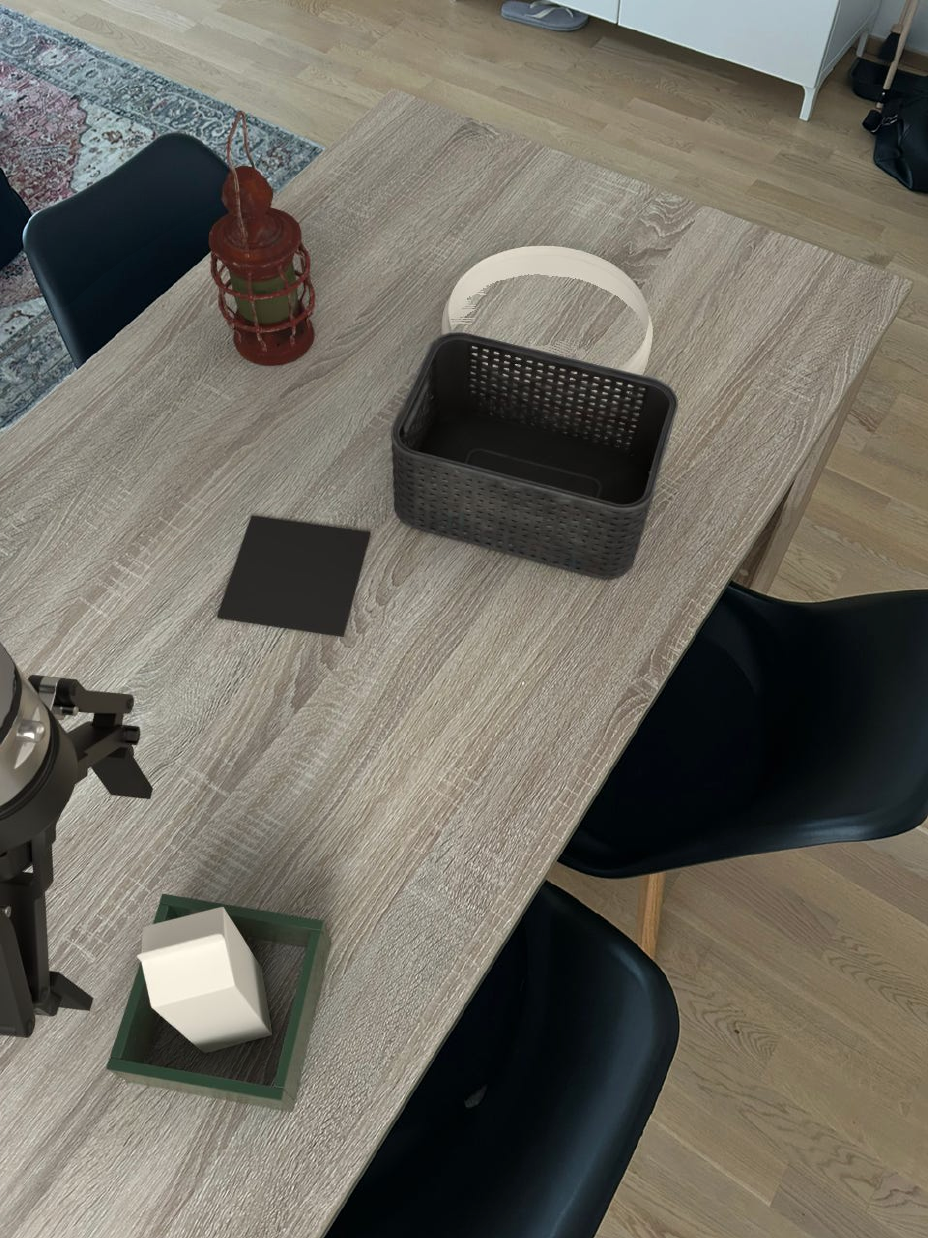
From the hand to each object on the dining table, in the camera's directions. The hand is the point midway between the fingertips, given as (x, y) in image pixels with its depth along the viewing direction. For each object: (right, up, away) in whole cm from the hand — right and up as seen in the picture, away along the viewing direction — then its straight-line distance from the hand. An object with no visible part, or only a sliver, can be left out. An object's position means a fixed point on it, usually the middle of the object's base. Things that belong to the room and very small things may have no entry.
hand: (102, 891), depth 66 cm
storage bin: (+31, +32, +57) cm, 72 cm away
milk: (+3, -17, +25) cm, 31 cm away
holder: (+3, -17, +25) cm, 31 cm away
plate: (+34, +53, +70) cm, 94 cm away
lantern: (-2, +54, +70) cm, 88 cm away
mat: (+4, +22, +50) cm, 55 cm away
